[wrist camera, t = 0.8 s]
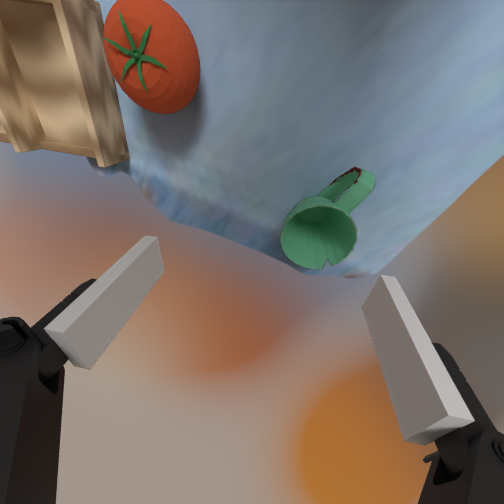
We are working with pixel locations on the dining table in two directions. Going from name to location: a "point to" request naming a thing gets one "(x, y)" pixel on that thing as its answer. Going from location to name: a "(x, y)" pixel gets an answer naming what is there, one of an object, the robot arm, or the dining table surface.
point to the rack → (58, 81)
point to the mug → (326, 221)
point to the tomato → (152, 54)
